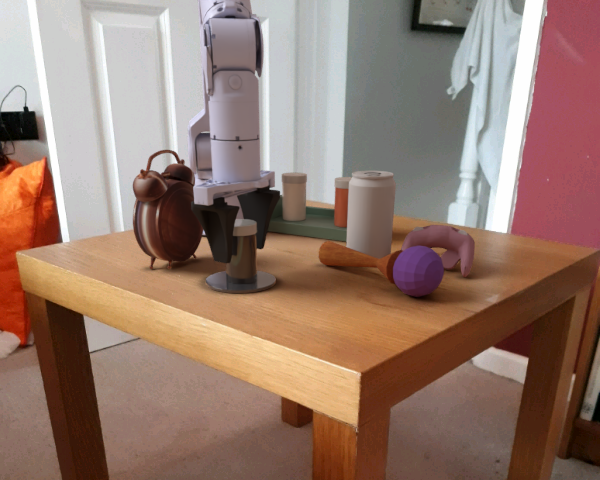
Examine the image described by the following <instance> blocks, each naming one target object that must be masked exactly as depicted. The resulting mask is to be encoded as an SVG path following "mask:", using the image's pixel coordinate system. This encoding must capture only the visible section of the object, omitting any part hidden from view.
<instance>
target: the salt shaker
mask: <svg viewBox="0 0 600 480" xmlns="http://www.w3.org/2000/svg"><path fill="white" fill-rule="evenodd" d="M307 182H308V173H306V172H305V173H304V172H293V171H292V172H284V173H283V172H282V173H281V193H282V194H281V195H282V218H283V219H284V220H287V221H302V220H305V219H306V206H307Z"/></svg>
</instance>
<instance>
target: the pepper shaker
mask: <svg viewBox="0 0 600 480" xmlns="http://www.w3.org/2000/svg"><path fill="white" fill-rule="evenodd" d="M256 233H257V222H256V221H254V220H249V219H236V220H235V225H234V231H233V247H232V258H231V262H230V263H224V264H225V271H226V280H227V281H228V282H230V283H234V284H248V283H253V282H255V281H257V271H258V249H257V241H256Z"/></svg>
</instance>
